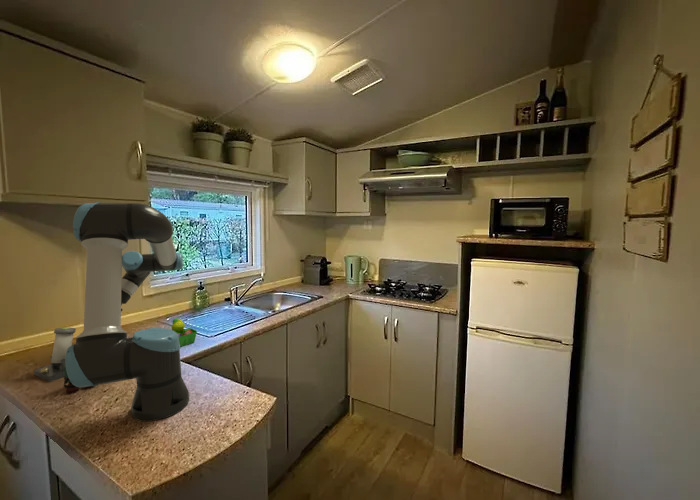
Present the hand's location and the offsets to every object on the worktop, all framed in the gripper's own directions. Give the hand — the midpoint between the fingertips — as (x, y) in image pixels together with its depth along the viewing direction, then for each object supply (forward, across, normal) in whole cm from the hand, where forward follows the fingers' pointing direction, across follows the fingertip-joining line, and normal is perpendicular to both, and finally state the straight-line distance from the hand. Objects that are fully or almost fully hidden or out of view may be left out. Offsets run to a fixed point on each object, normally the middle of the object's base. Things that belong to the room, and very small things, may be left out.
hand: (81, 343), depth 126 cm
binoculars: (+13, -20, +1) cm, 24 cm away
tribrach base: (+11, 0, -1) cm, 11 cm away
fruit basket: (-15, -17, -27) cm, 35 cm away
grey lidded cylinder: (+8, 0, +2) cm, 8 cm away
